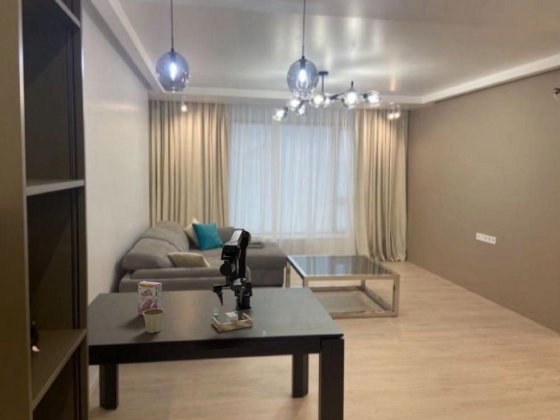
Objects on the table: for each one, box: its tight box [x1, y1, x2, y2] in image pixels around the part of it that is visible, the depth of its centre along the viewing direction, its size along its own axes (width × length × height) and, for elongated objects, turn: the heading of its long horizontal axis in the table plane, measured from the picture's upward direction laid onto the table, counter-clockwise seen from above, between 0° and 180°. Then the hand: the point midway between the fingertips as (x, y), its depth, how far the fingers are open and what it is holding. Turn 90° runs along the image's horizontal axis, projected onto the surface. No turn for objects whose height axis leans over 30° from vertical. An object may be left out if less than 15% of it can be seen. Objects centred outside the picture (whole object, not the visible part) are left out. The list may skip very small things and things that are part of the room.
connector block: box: [225, 311, 239, 323], centre depth 199 cm, size 4×7×5 cm, turn 26°
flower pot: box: [142, 308, 165, 334], centre depth 192 cm, size 9×9×9 cm
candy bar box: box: [137, 280, 163, 317], centre depth 213 cm, size 11×5×16 cm, turn 71°
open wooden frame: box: [211, 312, 253, 332], centre depth 200 cm, size 16×10×3 cm, turn 116°
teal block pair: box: [212, 310, 239, 320], centre depth 208 cm, size 12×2×3 cm, turn 116°
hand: (231, 304), depth 199 cm, fingers open, 9 cm apart
